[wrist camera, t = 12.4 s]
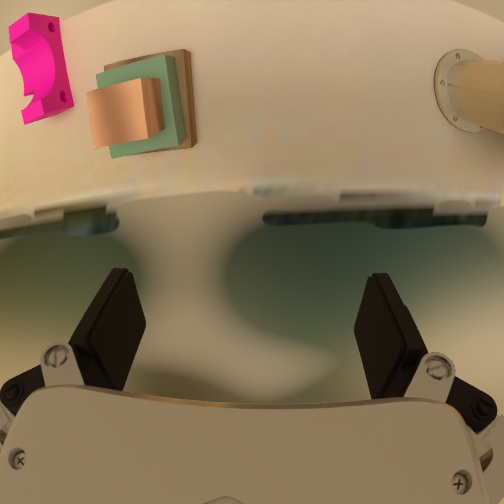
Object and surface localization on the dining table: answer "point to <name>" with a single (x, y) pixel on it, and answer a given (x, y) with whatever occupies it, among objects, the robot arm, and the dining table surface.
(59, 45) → the magenta curved bracket
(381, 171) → the dining table surface
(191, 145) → the tower base
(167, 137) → the tower top
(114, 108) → the terracotta cube
